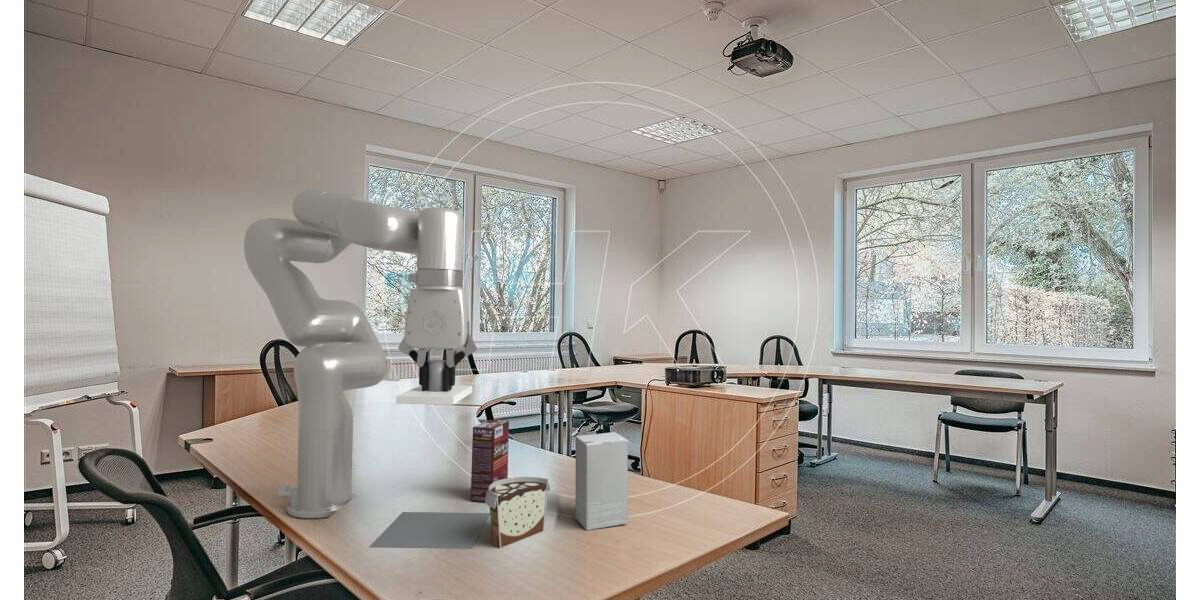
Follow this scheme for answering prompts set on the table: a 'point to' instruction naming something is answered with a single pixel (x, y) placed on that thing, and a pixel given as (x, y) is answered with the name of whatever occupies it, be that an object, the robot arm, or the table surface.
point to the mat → (433, 530)
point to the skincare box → (601, 480)
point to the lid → (434, 389)
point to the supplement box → (488, 457)
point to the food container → (517, 508)
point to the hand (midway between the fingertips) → (437, 389)
